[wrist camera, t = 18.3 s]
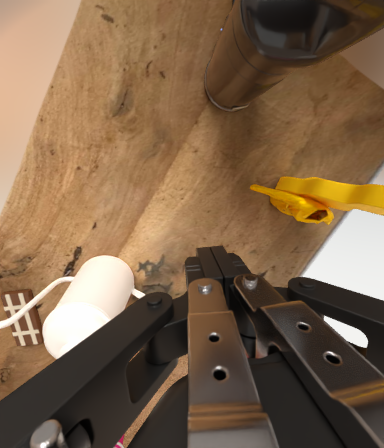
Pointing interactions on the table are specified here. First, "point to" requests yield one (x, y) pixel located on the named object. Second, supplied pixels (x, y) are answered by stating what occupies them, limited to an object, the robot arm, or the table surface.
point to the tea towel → (23, 317)
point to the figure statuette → (322, 198)
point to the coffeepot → (84, 303)
